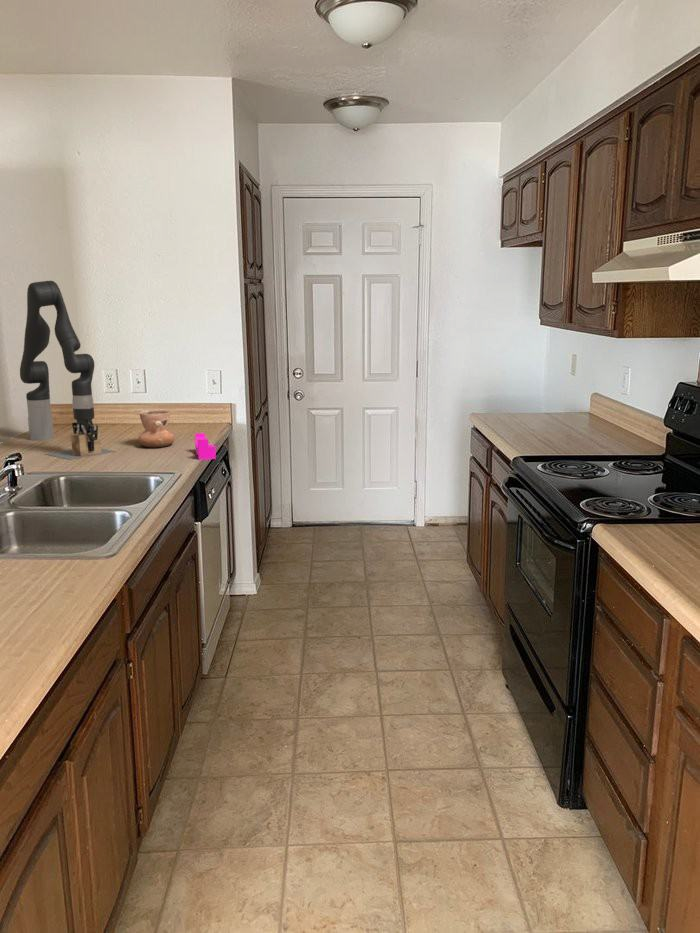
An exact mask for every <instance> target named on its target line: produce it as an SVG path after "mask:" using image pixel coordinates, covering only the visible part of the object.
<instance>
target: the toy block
mask: <svg viewBox="0 0 700 933" xmlns="http://www.w3.org/2000/svg"><path fill="white" fill-rule="evenodd" d="M194 442H195V453H196V456H197V455H198V456H197V457H198V460H199V459H200V460H199V461H201V460H213V459H214V460H216V459H217V452H216V450H217V449H216V445H215V444H209V438H208V437H207V438H206V433H205V432H199V433H194Z"/></svg>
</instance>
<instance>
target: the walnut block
mask: <svg viewBox="0 0 700 933" xmlns="http://www.w3.org/2000/svg"><path fill="white" fill-rule="evenodd" d="M76 433H77V432H76ZM89 437H90V436H89ZM94 437H95V435H94ZM70 438H71V439H70V440H71V441H70V442H71V450H72V453H73V455H76V456H87V455H92V454H98V453H101V449H102V444H101V442H102V441H101V433H100V431H98V439H97V440H95V441H94V451H88V440H87V436H86V435H84V433H80V434H78V433H77V434H74V433H71V434H70ZM98 455H99V454H98ZM87 457H88V456H87Z"/></svg>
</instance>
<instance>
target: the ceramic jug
mask: <svg viewBox="0 0 700 933" xmlns="http://www.w3.org/2000/svg"><path fill="white" fill-rule="evenodd" d="M138 414H139V417H140V418H139V419H140V421H141V424H142V426H143V428H144V431H143V432H142V433H141V434H139V436H138V438H137V441H138V443H139V444H140V445H141V446H142V447H144V448H148V449H149V448H150V449H151V448H152V449H153V448H154V449H156V448H158V447H159V448H165V447H168V446H170V445H172V444H173V443H174V442H175V439H176V438H175V435H174V434H173V433H172V432H171V431H169V430H167V427H168V425H169V422H170V418H171V411H169V410H161V409H157V410H156V409H149V410H143V411H142V410H141V411H140V412H138Z"/></svg>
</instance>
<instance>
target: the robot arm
mask: <svg viewBox="0 0 700 933" xmlns="http://www.w3.org/2000/svg"><path fill="white" fill-rule="evenodd" d="M26 306H27V308H26V311H27V314H26V321H25V322H26V323H25V330H24V337H23V338H24V341H23V342H24V343H23V353H22V356H21V362H20V366H19V377H20V381H21V382H22V383H24V384H29V385H30V384H39V385H38V387H36V388H35V389H33V390H31V391H28V392H27V393H26V396H25V397H26V404H27V405H26V407H27V416H28V417H27V423H28V432H29V439H30V440H31V441H34V442H35V441H37V442H38V441H49V440H52V439H54V429H53V417H52V406H51V396H50V376H49V375H50V374H49V367H48V364H47V362H46V360H45V361H44V360H36V358H37V357H38V356H40V355H41V354H42V353H43V352H44V351H45V349H46V348H48V345H49V343H50V336H51V329H50V326H49V324H48V323H47V321H46V320H45V319H44V318H43V316H42V315H41V314H40V311H41V310H40V309H41V308H42V307H48V306H54V308H55V311H56V319H55V324H54V334H55V338H56V340H57V342H58V344H59V346H60V348H61V351H62V357H63V362H64V363H63V364H64V367H65V369H66V370H67V371H68V372H69V373H71V374H80V375H79V377H78V378H76V379H73V380H72V381H71V391H72V392H71V393H72V394H71V396H72V400H71V401H72V413H73V419H74V420H76V422H71V426H72V431H73V434H77V433H78V434H80V433H84V435H86V436H87V440H88V451H94V441H95V440H97V439H98V432H99V426H98V424H94V423H93V420H94V419H95V407H94V398H93V391H92V390H93V389H92V383H93V382H92V381H93V377H94V372H95V361H94V358H93V357H92V355H91V354H89V353H77V354H76V352H77V351H79V350H80V348H81V342H80V340H79V338H78V336H77V333H76V332H75V329H74V328H73V326H72V325H73V324H72V323H71V320H70V316H69V313H68V310H67V307H66V304H65V300H64V298H63V294H62V291H61V289H60V287H59V285H58V283H57V282H55V281H54V280H44V281H35V282H31V283H29V284H28V287H27V294H26ZM35 360H36V361H35ZM94 435H95V437H94ZM89 436H90V437H89Z"/></svg>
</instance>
